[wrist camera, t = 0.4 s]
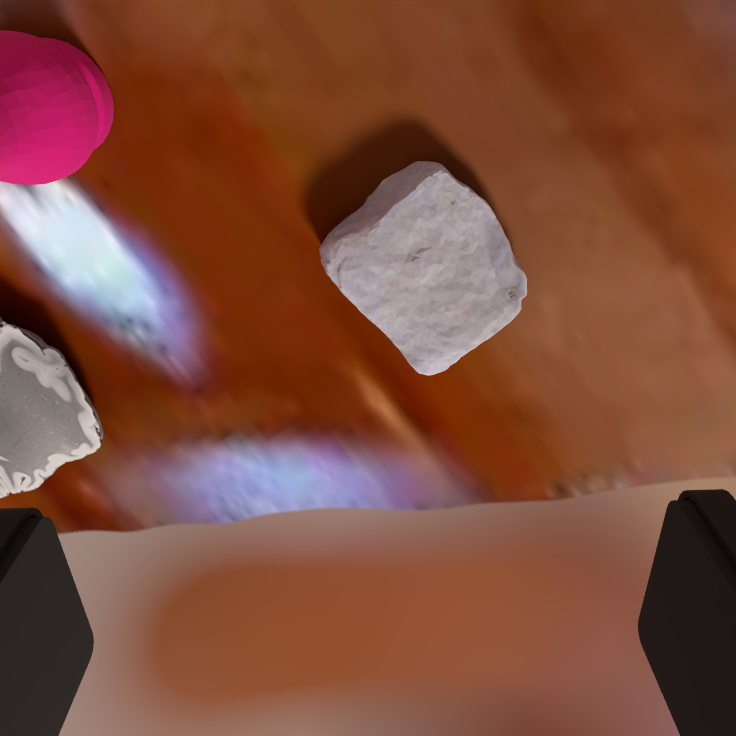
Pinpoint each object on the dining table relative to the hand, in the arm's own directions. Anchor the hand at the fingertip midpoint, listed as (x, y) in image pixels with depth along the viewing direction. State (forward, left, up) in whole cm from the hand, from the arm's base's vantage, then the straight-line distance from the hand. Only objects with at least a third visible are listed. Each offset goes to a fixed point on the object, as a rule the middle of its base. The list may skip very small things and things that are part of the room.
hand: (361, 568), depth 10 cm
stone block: (+7, +4, -33) cm, 34 cm away
